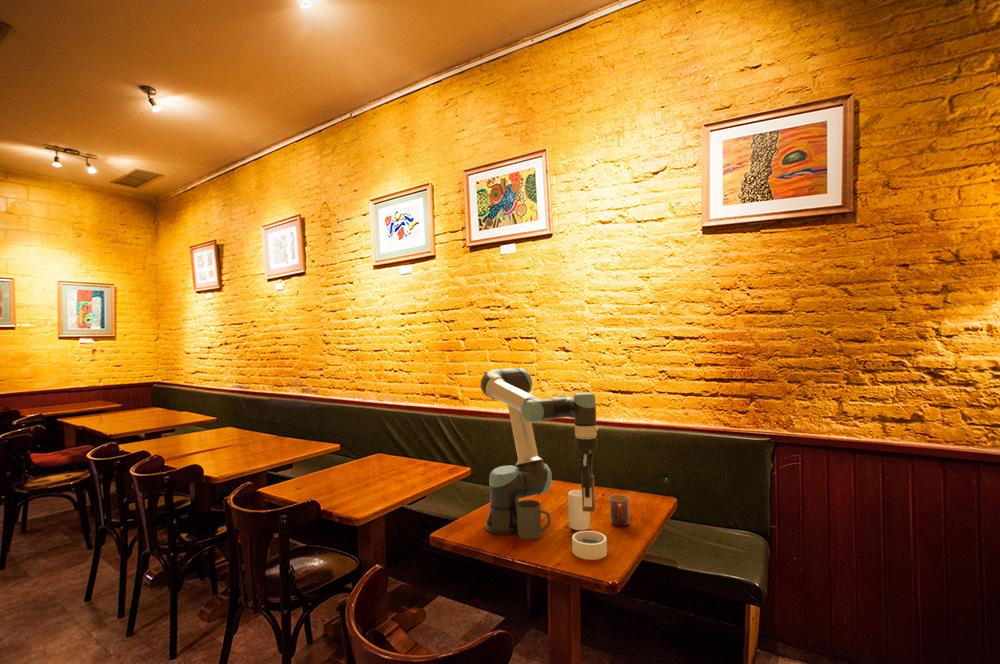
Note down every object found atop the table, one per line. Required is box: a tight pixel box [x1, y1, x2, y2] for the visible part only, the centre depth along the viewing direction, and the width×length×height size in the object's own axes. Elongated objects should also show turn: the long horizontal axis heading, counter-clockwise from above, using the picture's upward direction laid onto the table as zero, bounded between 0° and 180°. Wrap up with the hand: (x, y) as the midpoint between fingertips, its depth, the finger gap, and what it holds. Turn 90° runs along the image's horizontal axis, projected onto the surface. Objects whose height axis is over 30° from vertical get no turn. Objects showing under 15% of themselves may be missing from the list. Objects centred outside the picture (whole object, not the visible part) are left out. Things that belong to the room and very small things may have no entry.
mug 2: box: [607, 493, 631, 527], centre depth 186 cm, size 12×9×10 cm
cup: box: [567, 489, 591, 531], centre depth 183 cm, size 8×8×14 cm
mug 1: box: [517, 499, 552, 541], centre depth 177 cm, size 14×9×12 cm
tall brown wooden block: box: [581, 474, 596, 513], centre depth 163 cm, size 4×2×12 cm, turn 73°
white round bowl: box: [571, 530, 608, 561], centre depth 162 cm, size 12×12×5 cm
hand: (588, 504), depth 163 cm, fingers closed on tall brown wooden block, 2 cm apart
